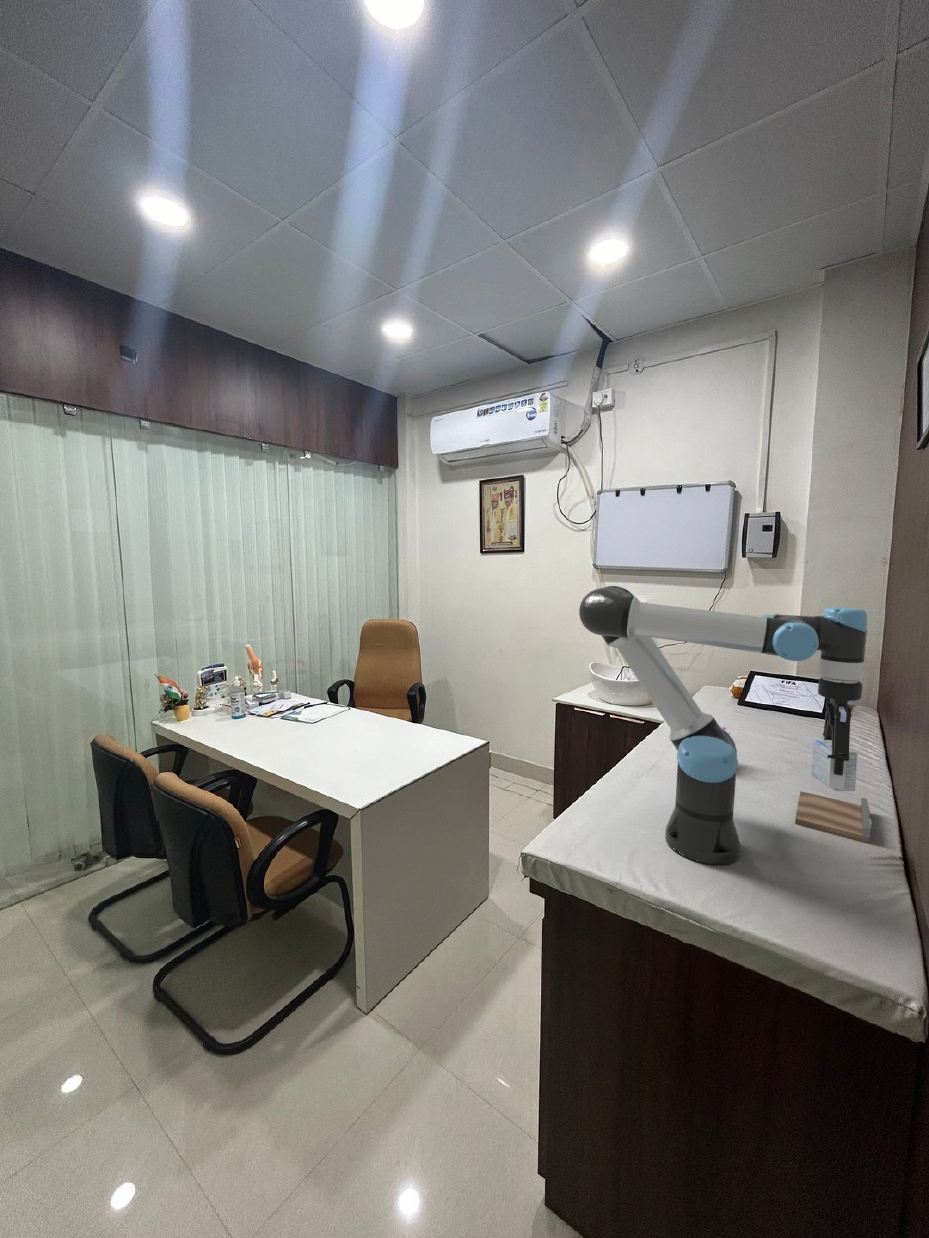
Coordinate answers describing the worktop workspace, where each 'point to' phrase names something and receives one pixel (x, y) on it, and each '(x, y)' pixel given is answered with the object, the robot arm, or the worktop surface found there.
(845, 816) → the shelf board
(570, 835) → the worktop surface
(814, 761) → the medicine box
